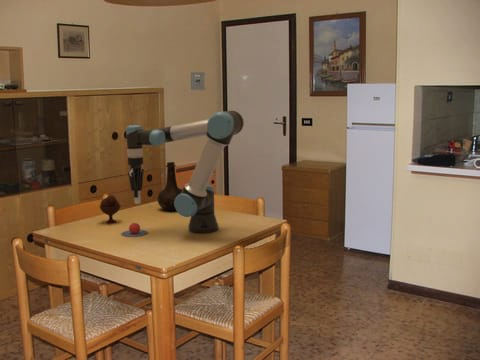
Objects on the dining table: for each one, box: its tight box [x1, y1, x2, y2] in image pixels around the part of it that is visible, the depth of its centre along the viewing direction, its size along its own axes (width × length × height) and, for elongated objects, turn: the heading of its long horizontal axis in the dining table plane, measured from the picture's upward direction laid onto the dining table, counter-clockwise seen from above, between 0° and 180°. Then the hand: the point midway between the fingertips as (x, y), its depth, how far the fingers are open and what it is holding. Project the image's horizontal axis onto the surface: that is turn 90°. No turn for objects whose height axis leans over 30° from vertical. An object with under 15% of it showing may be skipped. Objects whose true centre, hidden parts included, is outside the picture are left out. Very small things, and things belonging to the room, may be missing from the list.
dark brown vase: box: [157, 161, 183, 212], centre depth 333 cm, size 18×18×28 cm
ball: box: [128, 222, 141, 234], centre depth 283 cm, size 6×6×6 cm
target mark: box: [120, 229, 149, 238], centre depth 283 cm, size 13×13×1 cm
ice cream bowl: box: [99, 194, 122, 224], centre depth 306 cm, size 11×11×15 cm
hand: (137, 203), depth 285 cm, fingers closed
